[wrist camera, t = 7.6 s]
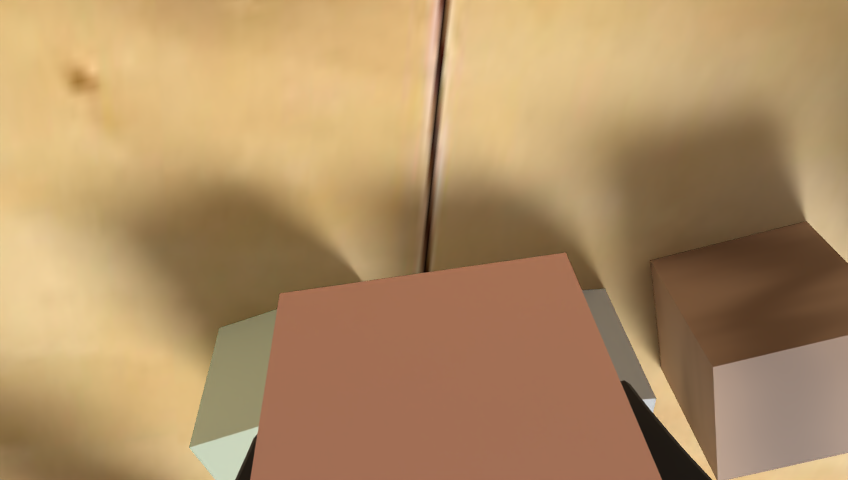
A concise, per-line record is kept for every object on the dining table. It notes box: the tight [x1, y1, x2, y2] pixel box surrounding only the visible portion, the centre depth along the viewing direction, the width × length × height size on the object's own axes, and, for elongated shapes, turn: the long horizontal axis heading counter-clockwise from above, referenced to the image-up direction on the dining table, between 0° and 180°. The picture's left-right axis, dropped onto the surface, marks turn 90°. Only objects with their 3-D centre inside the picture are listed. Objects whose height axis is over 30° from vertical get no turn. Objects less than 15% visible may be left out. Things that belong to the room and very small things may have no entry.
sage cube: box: [189, 309, 277, 480], centre depth 22 cm, size 5×5×5 cm
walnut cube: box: [650, 221, 848, 480], centre depth 22 cm, size 5×5×5 cm
